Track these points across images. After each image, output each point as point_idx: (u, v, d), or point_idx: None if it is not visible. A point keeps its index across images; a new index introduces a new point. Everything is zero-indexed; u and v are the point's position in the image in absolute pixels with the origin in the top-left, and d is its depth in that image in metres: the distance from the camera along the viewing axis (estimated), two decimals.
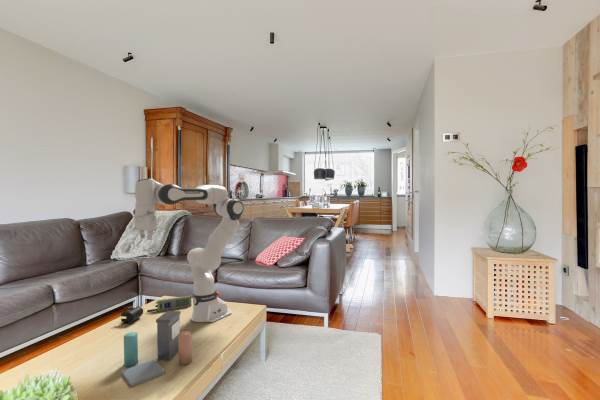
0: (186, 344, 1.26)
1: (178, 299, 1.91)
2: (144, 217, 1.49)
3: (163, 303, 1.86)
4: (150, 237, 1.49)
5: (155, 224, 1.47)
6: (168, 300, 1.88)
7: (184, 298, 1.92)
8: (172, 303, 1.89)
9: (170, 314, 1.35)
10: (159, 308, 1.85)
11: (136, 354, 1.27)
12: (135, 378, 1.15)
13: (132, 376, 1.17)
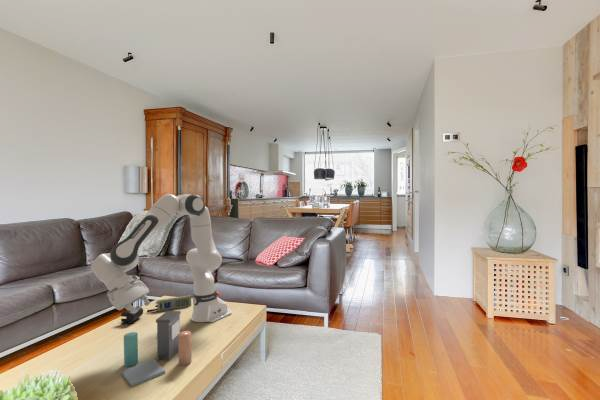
0: (186, 344, 1.26)
1: (178, 299, 1.91)
2: None
3: (163, 303, 1.87)
4: (133, 309, 1.29)
5: (117, 301, 1.25)
6: (168, 300, 1.88)
7: (184, 298, 1.93)
8: (171, 303, 1.89)
9: (170, 314, 1.35)
10: (159, 308, 1.86)
11: (136, 354, 1.27)
12: (135, 378, 1.15)
13: (132, 376, 1.17)
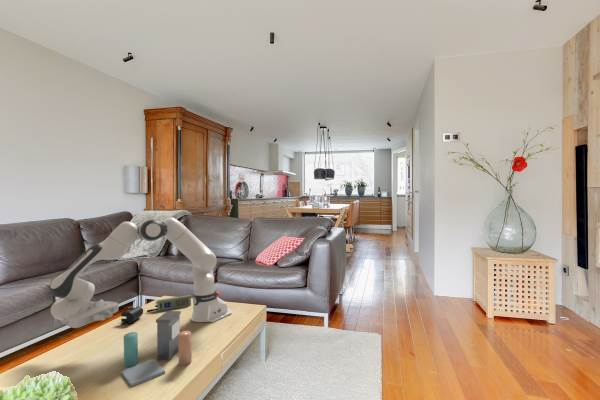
0: (186, 344, 1.26)
1: (178, 299, 1.92)
2: None
3: (163, 303, 1.87)
4: (100, 317, 1.29)
5: (71, 320, 1.23)
6: (168, 300, 1.89)
7: (184, 297, 1.93)
8: (171, 302, 1.89)
9: (170, 314, 1.35)
10: (159, 308, 1.86)
11: (136, 354, 1.27)
12: (135, 378, 1.15)
13: (132, 376, 1.17)
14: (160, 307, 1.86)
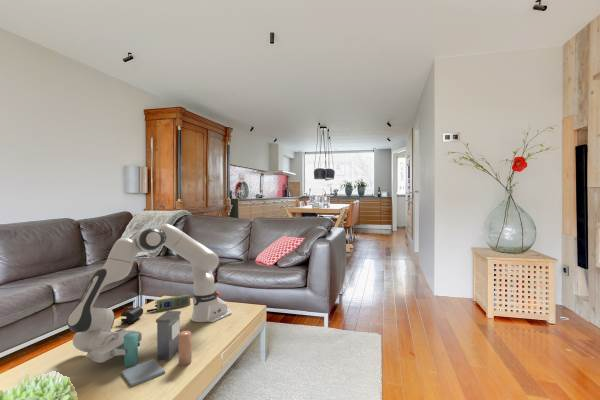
0: (186, 344, 1.26)
1: (177, 298, 1.92)
2: None
3: (163, 302, 1.87)
4: (121, 351, 1.24)
5: (96, 354, 1.20)
6: (167, 299, 1.89)
7: (183, 297, 1.94)
8: (171, 302, 1.90)
9: (170, 314, 1.35)
10: (159, 308, 1.86)
11: (136, 354, 1.27)
12: (135, 378, 1.15)
13: (132, 376, 1.17)
14: (160, 307, 1.87)
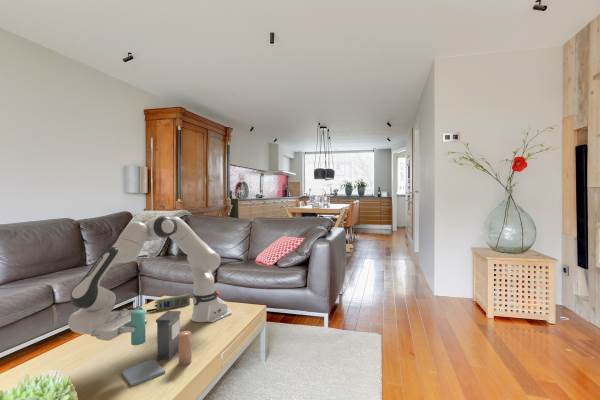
0: (186, 344, 1.26)
1: (177, 298, 1.93)
2: None
3: (163, 302, 1.88)
4: (130, 328, 1.17)
5: (103, 332, 1.12)
6: (167, 299, 1.90)
7: (183, 297, 1.95)
8: (171, 302, 1.90)
9: (170, 314, 1.35)
10: (158, 307, 1.86)
11: (144, 332, 1.21)
12: (135, 378, 1.15)
13: (132, 376, 1.17)
14: (160, 307, 1.87)
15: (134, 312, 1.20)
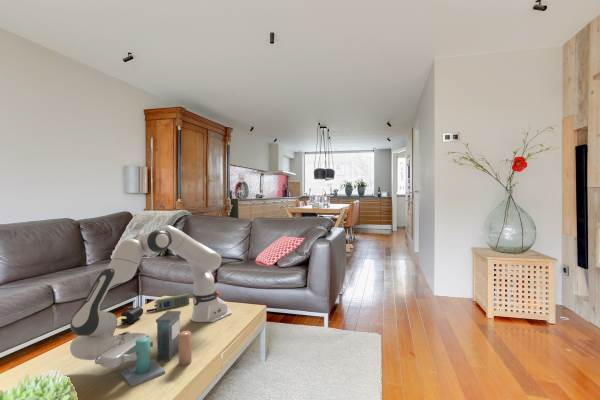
0: (186, 344, 1.26)
1: (177, 298, 1.93)
2: None
3: (163, 302, 1.88)
4: (132, 356, 1.15)
5: (108, 360, 1.11)
6: (167, 299, 1.90)
7: (182, 296, 1.96)
8: (170, 301, 1.91)
9: (170, 314, 1.35)
10: (158, 307, 1.87)
11: (149, 360, 1.20)
12: (135, 378, 1.15)
13: (132, 376, 1.17)
14: (159, 306, 1.87)
15: (139, 341, 1.19)
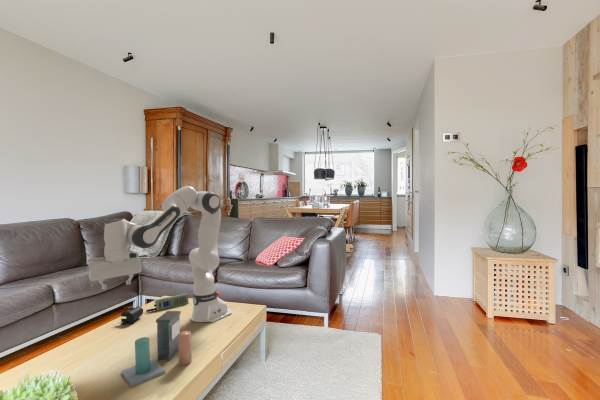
0: (186, 344, 1.26)
1: (176, 297, 1.94)
2: None
3: (162, 302, 1.88)
4: (102, 286, 1.33)
5: (90, 274, 1.29)
6: (167, 299, 1.90)
7: (182, 296, 1.96)
8: (170, 301, 1.91)
9: (170, 314, 1.35)
10: (158, 307, 1.87)
11: (149, 360, 1.20)
12: (135, 378, 1.15)
13: (132, 376, 1.17)
14: (159, 306, 1.87)
15: (138, 341, 1.19)
